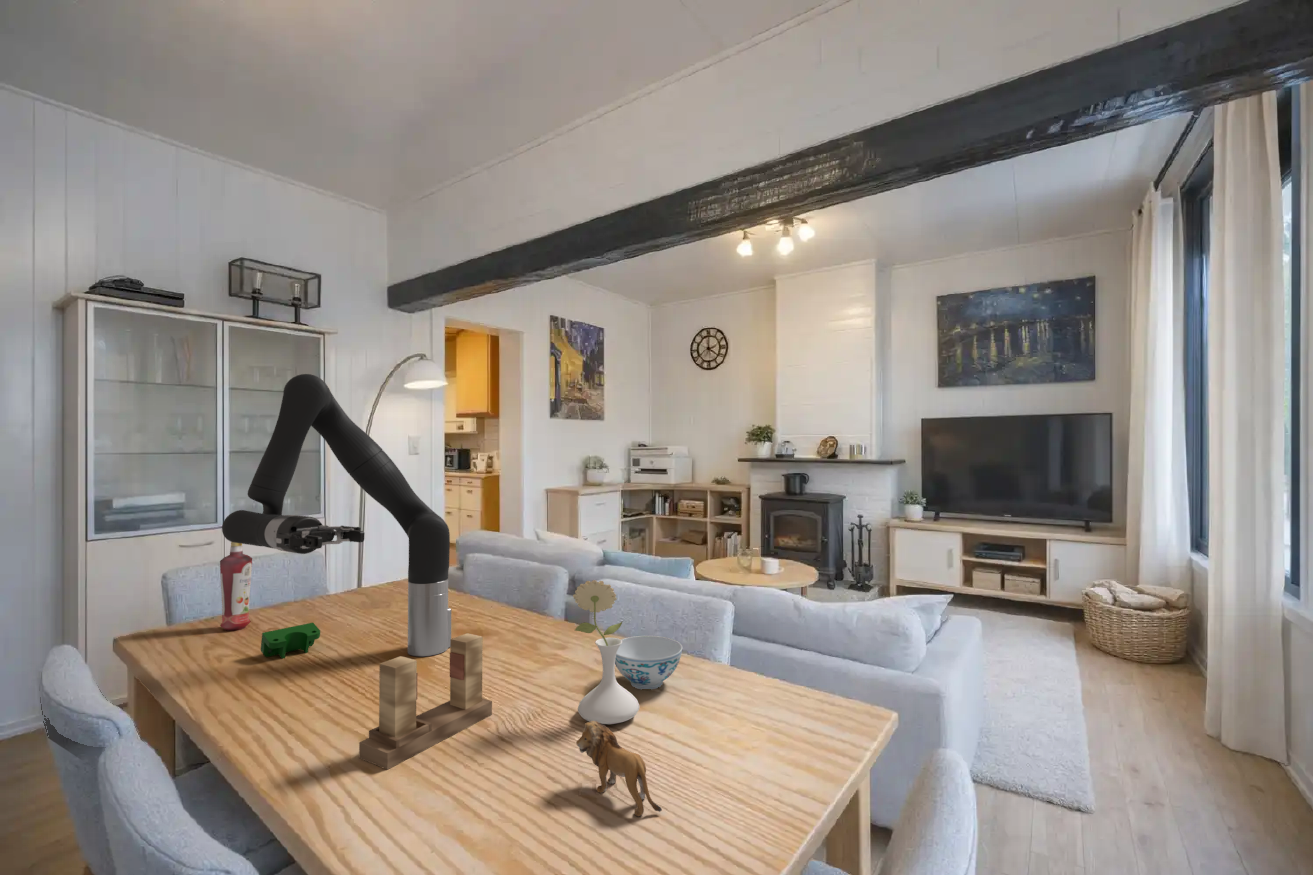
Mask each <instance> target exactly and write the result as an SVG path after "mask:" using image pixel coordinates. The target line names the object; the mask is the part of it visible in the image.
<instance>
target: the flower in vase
mask: <svg viewBox="0 0 1313 875" xmlns="http://www.w3.org/2000/svg"><path fill="white" fill-rule="evenodd" d="M572 597H573V599H574V602H575V603H576V604H577V606H578V607H579V608H580V609H582V610H584V611H588V610H589V611H588V612H590V613H593V622H594V624H592V623H590V622H587V621H586V622H581V623H579V624H578V625H577V626H576V628H574V631H576V632H582V633H585V634H591V633H593V632H594V631H595V630H597V632H598V633H599V635H600V637H602V638H598V639H597V640H595V642H594V643H595V645H596V646H597V648H598V650H599V653H600V655H601V661H602V662H601V663H602V675H601V676H602V677H601V680H600V682H599V683H598V685H596V687H595V688H593V689H592V690H590V691H589V692H588V693H587V694H586V695H585V696H583V698H582V699H581V700H580V701H579V704H578V707H577V712H578V714H579V715H580V716H581V718H582V719H584V720H585V721H587V722H590V721H597V722H599V723H601V724H603V725H614V724H620V723H623V722H627V721H629V720H631V719H632V718H635V716H636V715H637V713H638V712H639V711H640V704H639V701H638V699H637V698H636V697H635V696H634V695H633V693H631V692H630V691H628V690H627V689H626V688H624V686H622V685H620V684H619V683H618V681H617V678H616V672H615V671H616V670H615V668H616V665H615V659H616V654H617V651H618V648H619V646H620V645H621V644H622V640H621V639H620V638H619V637H605V636H608V635H612V634H614V633H615V632H617V631H619V629H620V628H621V627H622V624H623V621H621V622H619V623H616V624H612V625H610V626H608V627H607V628H606V630H605V631H604V633H602V631H601V630H600V628H599V626H598V625H597V620H596V616H597V613H601V612H605V611H607V610H609V609H612V608H613V605H614V604H615V601H617V599H618V598H617V594H616V593H615V590H614V588H613V587H612V585H611V584H606V583H604V580H598V581H597V580H596V579H593V580H592V581H590V580H586V581H585V583H580V584H579V585H578V586H577V587H576V589H575V591H574V594H573V595H572Z"/></svg>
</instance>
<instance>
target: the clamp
mask: <svg viewBox="0 0 1313 875" xmlns="http://www.w3.org/2000/svg"><path fill="white" fill-rule="evenodd" d="M320 637H321V630H320V629H319V627H318V626H317V625H316V624H315V623H314V622H308V623H304V624H299V625H294V626H289V627H284V628H279V629H274V630H270V631H269V630H268V631H264V632H262V633H261V640H260V641H261V642H260V652H261V653H262V654H263V656H264V657H266V658H269V657H274V656H278V655H279V657H280V659H285V658H286V654H287V653H290V652H294V651H295V650H296V651H299V650H300V651H303V652H304V653H305V654H308V653H309V648H310V647H309V646H311V647H312V646H314V644H315V641H316V640H318V639H320ZM277 654H278V655H277Z"/></svg>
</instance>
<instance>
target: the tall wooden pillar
mask: <svg viewBox="0 0 1313 875" xmlns="http://www.w3.org/2000/svg"><path fill="white" fill-rule="evenodd" d="M417 662H418V661H417V659H413V658H410V657H405V656H401V655H400V656H397V657H395V658H392V659H389V660H385V661H383V662H381V663H379V678H378V679H379V684H378V687H379V689H378V691H379V695H378V698H379V699H378V700H379V701H378V705H379V707H378V711H379V712H378V726H379V732H381V733H384V734H386V735H389V736H392V737H395V738H399V737H401V736H403V735H405V734H407V733H409V732H411V731H413V730H415V729H416V716H417V700H418V670H417V667H418V666H417V664H418V663H417Z"/></svg>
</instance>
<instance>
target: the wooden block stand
mask: <svg viewBox="0 0 1313 875" xmlns="http://www.w3.org/2000/svg"><path fill="white" fill-rule="evenodd" d="M449 649H450V650H449V651H450V652H449V678H450V679H449V680H450V682H449V683H450V684H449V686H450V687H449V688H450V689H449V691H450V692H449V700H448V701H446V702H444V703H441V704H440V705H438V706H435V707H433V708H431V709H428V710H426V711H424V712H422V713H420V714H416V729H415V730H413V731H411V732H409V733H407V734H405V735H403V736H401V737H399V738H395V737H392V736H389V735H386V734H384V733H381V732H379V725H378V726H376V727H374V728H372V729H370V730H368V737H367V738H365V739H364V740H361V741H359V742H358V744H359V745H358V746H359V749H358V750H359V752H358V753H359V754H358V755H359V756H358V757H359V759H361V760H363V761H366V762H368V763H370V764H373V765H376V766H378V767H380V768H383V769H384V770H389V769H391V768H394V767H395V766H398V765H400V764H401V763H402V762H404V761H407V760H409V759H411V758H412V757H414V756H417V755H418V754H420V753H422V752H424V751H426V750H428V749H429V748H431V747H433V746H435V745H437V744H439V743H441V742H443V741H444V740H446V739H449V738H450V737H452V736H454V735H456V734H458V733H460V732H462V731H464V730H465V729H468V728H469V727H471V726H473V725H474V724H477V723H479V722H481V721H482V720H484V719H486V718H488V717H490V716H491V715H493V700H490V699H486V698H483V635H482V636H481V635H477V634H472V633H467V632H466V633H464V634H461V635H458V636H455V637H453V638H452V637H451V639H450V647H449Z"/></svg>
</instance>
